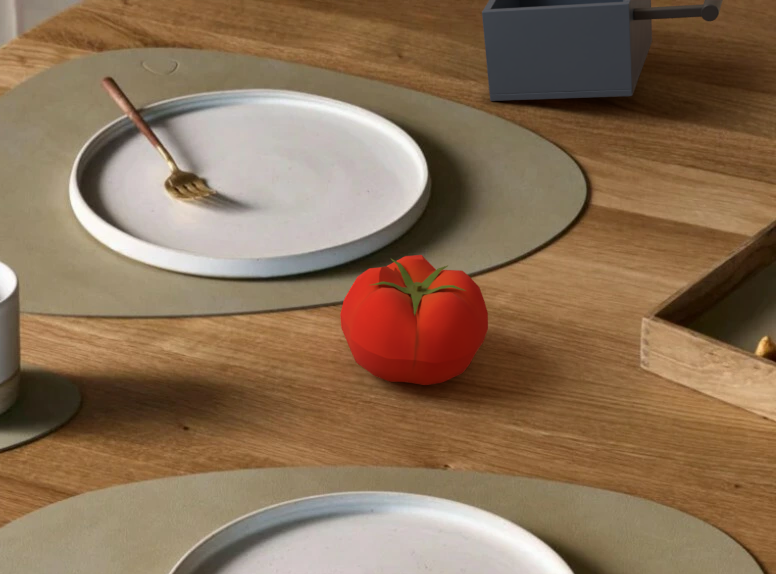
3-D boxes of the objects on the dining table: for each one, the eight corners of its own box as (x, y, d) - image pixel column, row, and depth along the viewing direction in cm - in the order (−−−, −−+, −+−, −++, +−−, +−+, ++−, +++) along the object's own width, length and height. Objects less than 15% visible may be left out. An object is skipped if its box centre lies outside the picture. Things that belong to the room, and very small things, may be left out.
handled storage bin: (731, 38, 153) (731, -52, 148) (716, 93, 143) (716, -2, 138) (518, 48, 161) (511, -38, 156) (490, 101, 151) (481, 12, 146)
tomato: (497, 344, 118) (511, 260, 113) (450, 420, 110) (463, 333, 105) (369, 309, 121) (377, 225, 116) (315, 379, 113) (321, 294, 108)
